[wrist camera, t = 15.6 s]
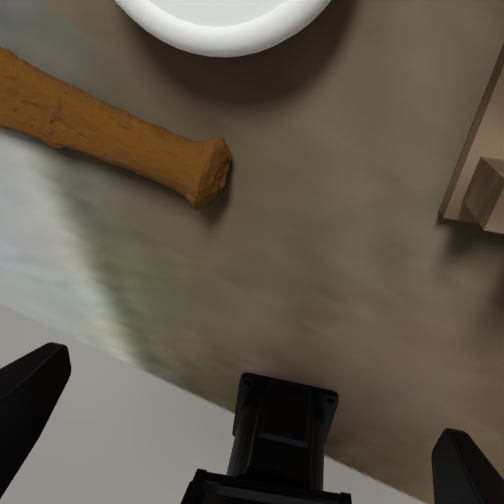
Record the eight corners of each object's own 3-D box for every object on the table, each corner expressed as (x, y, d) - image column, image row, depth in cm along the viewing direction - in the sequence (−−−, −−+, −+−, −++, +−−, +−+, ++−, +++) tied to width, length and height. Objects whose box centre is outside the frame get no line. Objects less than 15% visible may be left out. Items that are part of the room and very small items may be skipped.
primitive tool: (-118, 88, 22) (-190, 100, 19) (-144, -33, 19) (-234, -42, 16) (224, 199, 22) (207, 229, 19) (251, 95, 19) (236, 110, 16)
